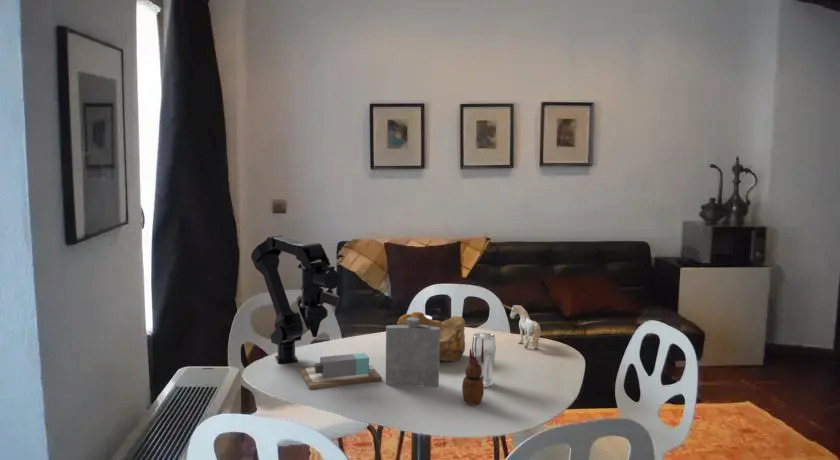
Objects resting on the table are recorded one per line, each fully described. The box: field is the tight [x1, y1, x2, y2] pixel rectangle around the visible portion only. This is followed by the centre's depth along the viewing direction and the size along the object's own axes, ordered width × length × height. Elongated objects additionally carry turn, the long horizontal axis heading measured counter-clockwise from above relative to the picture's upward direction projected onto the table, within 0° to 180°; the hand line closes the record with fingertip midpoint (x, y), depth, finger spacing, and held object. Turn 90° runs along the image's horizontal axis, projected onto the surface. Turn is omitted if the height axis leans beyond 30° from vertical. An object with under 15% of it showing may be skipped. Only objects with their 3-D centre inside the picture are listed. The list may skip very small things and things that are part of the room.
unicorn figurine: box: [500, 303, 541, 350], centre depth 237 cm, size 7×20×13 cm, turn 34°
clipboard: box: [298, 362, 383, 390], centre depth 203 cm, size 16×22×2 cm
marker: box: [314, 352, 370, 379], centre depth 201 cm, size 5×16×5 cm, turn 110°
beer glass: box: [471, 332, 497, 388], centre depth 198 cm, size 7×7×15 cm
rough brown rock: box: [396, 311, 466, 362], centre depth 218 cm, size 23×17×15 cm
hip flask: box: [385, 317, 440, 387], centre depth 197 cm, size 16×4×20 cm, turn 86°
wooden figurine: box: [461, 348, 485, 406], centre depth 183 cm, size 7×6×15 cm
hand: (311, 332), depth 207 cm, fingers open, 9 cm apart
